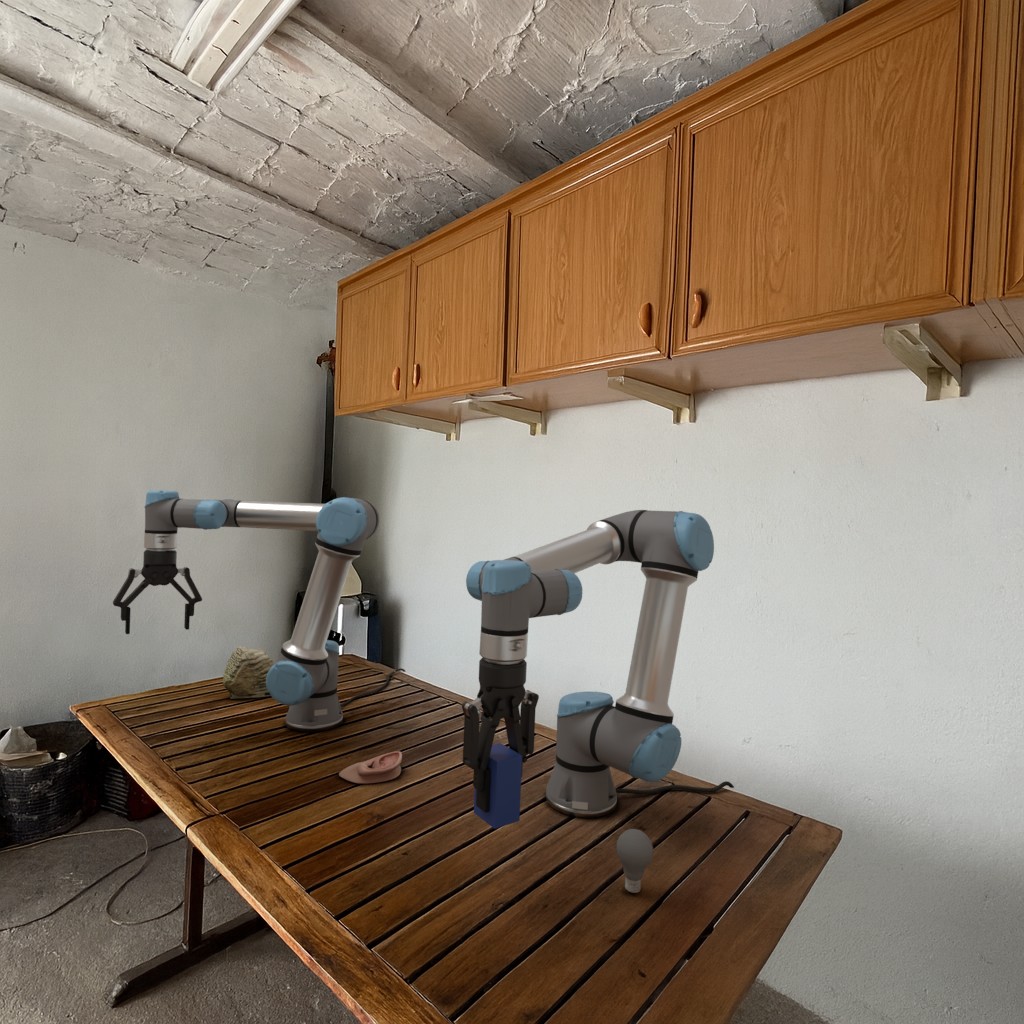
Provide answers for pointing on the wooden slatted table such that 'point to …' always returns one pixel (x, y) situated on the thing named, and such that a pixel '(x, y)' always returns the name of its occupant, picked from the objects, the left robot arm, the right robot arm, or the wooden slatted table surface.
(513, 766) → the brick
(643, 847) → the light bulb
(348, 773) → the anatomical model
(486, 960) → the wooden slatted table surface
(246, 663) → the fossil
